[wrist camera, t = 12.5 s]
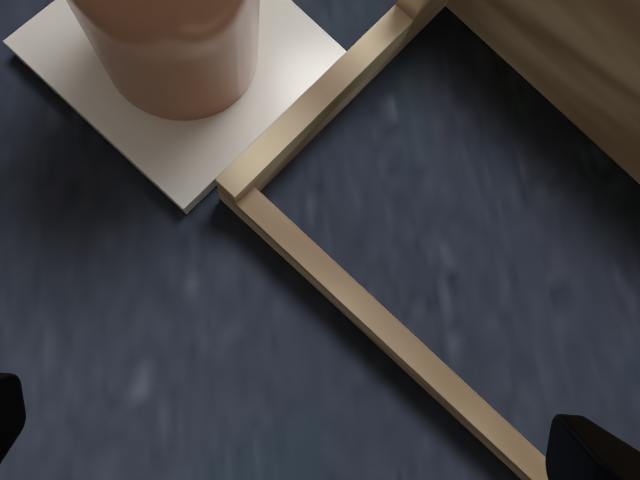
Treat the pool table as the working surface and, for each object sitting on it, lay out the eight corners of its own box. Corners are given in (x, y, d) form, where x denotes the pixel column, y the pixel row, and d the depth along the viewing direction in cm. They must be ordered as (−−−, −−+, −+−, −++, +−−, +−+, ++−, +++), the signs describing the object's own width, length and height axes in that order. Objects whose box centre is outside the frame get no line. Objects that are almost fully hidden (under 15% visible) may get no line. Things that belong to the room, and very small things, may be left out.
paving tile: (186, 214, 21) (183, 209, 20) (14, 54, 21) (2, 41, 20) (342, 62, 23) (346, 51, 22) (185, -83, 23) (182, -100, 22)
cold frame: (617, 569, 21) (879, 743, 12) (219, 198, 21) (198, 111, 13) (791, 294, 25) (1094, 278, 16) (445, -23, 25) (553, -214, 16)
